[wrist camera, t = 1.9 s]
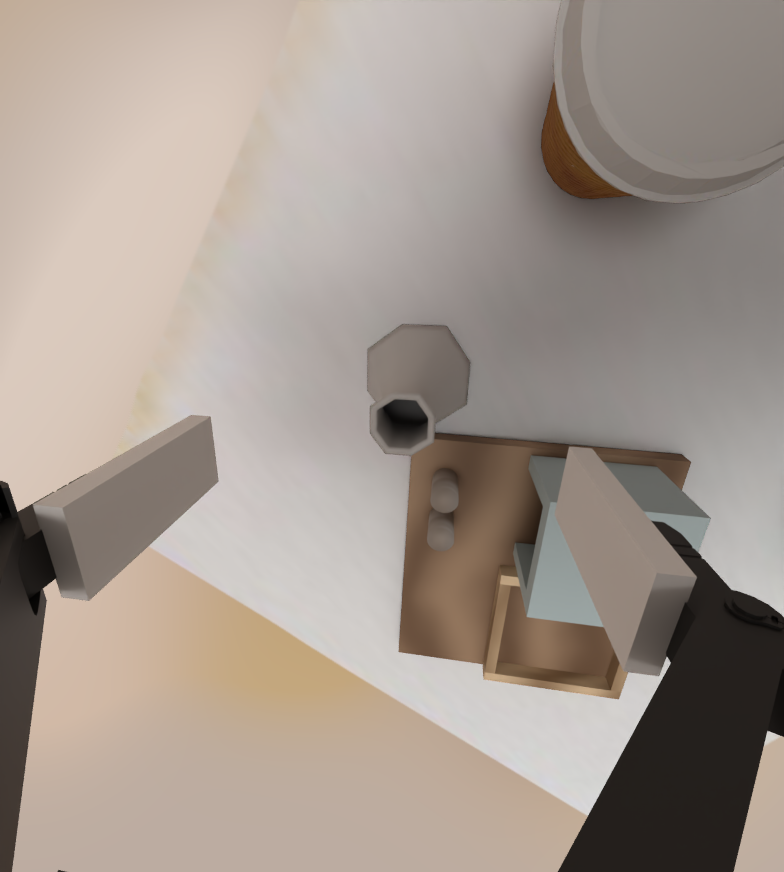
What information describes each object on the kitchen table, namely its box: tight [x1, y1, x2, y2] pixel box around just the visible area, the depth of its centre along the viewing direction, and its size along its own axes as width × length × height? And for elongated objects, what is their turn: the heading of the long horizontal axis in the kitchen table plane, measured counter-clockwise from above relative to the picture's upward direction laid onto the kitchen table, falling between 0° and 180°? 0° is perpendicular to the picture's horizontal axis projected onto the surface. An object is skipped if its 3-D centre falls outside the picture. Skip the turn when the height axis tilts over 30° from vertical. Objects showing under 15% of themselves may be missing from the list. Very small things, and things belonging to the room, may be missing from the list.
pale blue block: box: [513, 455, 711, 627], centre depth 26 cm, size 8×8×6 cm
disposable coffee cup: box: [541, 0, 784, 203], centre depth 17 cm, size 10×10×12 cm
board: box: [399, 433, 691, 699], centre depth 31 cm, size 18×20×4 cm
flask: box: [367, 324, 470, 456], centre depth 24 cm, size 7×7×10 cm
